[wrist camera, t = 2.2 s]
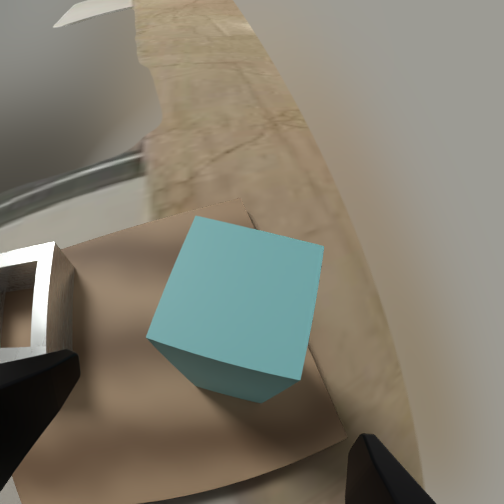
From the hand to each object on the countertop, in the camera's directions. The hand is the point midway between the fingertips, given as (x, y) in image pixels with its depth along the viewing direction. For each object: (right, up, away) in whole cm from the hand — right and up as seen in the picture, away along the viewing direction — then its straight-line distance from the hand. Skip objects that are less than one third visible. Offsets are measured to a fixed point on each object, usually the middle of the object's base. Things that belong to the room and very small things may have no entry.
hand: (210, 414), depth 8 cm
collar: (-15, -1, +10) cm, 18 cm away
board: (-7, -3, +10) cm, 13 cm away
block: (0, -2, +10) cm, 10 cm away
